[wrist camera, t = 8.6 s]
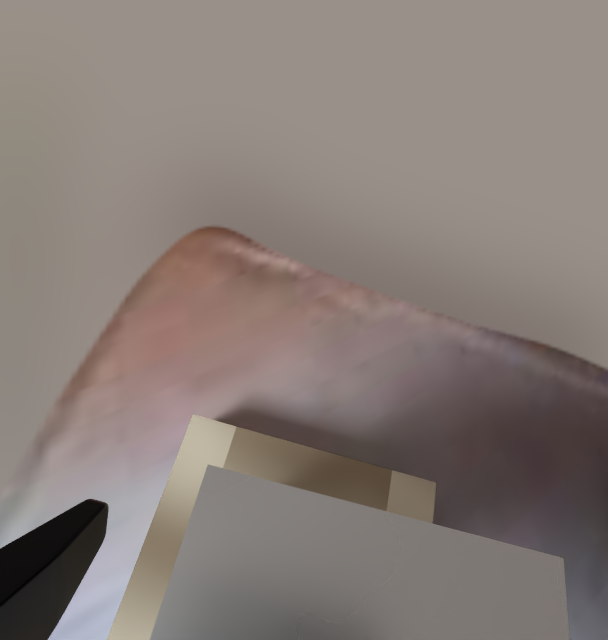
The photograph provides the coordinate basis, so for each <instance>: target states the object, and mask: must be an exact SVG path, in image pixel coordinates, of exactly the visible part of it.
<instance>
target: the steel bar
mask: <svg viewBox="0 0 608 640" xmlns="http://www.w3.org/2000/svg"><path fill="white" fill-rule="evenodd" d="M150 640H570V637H569V623H568V610H567V597H566V584H565V571H564V558H562V557H558V556H554V555H550V554H547V553H543V552H539V551H535V550H531V549H528V548H524V547H520V546H516V545H512V544H509V543H505V542H501V541H497V540H493V539H490V538H486V537H482V536H478V535H474V534H471V533H467V532H463V531H459V530H455V529H452V528H448V527H444V526H440V525H436V524H433V523H429V522H425V521H421V520H417V519H414V518H410V517H406V516H402V515H398V514H395V513H391V512H387V511H383V510H379V509H376V508H372V507H368V506H364V505H360V504H357V503H353V502H349V501H345V500H341V499H338V498H334V497H330V496H326V495H322V494H319V493H315V492H311V491H307V490H303V489H300V488H296V487H292V486H288V485H284V484H281V483H277V482H273V481H269V480H265V479H262V478H258V477H254V476H250V475H246V474H243V473H239V472H235V471H231V470H227V469H224V468H220V467H216V466H212V465H207V468H206V471H205V474H204V477H203V480H202V483H201V486H200V489H199V492H198V495H197V498H196V501H195V504H194V507H193V510H192V513H191V516H190V519H189V522H188V525H187V528H186V531H185V534H184V537H183V540H182V543H181V546H180V549H179V552H178V556H177V559H176V562H175V565H174V568H173V571H172V574H171V577H170V580H169V583H168V586H167V589H166V592H165V595H164V598H163V601H162V604H161V607H160V610H159V613H158V616H157V619H156V622H155V625H154V628H153V631H152V634H151V637H150Z"/></svg>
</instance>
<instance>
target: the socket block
mask: <svg viewBox="0 0 608 640" xmlns="http://www.w3.org/2000/svg"><path fill="white" fill-rule="evenodd" d="M207 465H212V466H216V467H220V468H224V469H227V470H231V471H235V472H239V473H243V474H246V475H250V476H254V477H258V478H262V479H265V480H269V481H273V482H277V483H281V484H284V485H288V486H292V487H296V488H300V489H303V490H307V491H311V492H315V493H319V494H322V495H326V496H330V497H334V498H338V499H341V500H345V501H349V502H353V503H357V504H360V505H364V506H368V507H372V508H376V509H379V510H383V511H387V512H391V513H395V514H398V515H402V516H406V517H410V518H414V519H417V520H421V521H425V522H429V523H433V515H434V504H435V493H436V482H433V481H429V480H426V479H422V478H419V477H415V476H411V475H408V474H404V473H401V472H397V471H394V470H390V469H386V468H383V467H379V466H376V465H372V464H369V463H365V462H361V461H358V460H354V459H351V458H347V457H344V456H340V455H336V454H333V453H329V452H326V451H322V450H319V449H315V448H311V447H308V446H304V445H301V444H297V443H294V442H290V441H286V440H283V439H279V438H276V437H272V436H269V435H265V434H261V433H258V432H254V431H251V430H247V429H244V428H240V427H236V426H233V425H229V424H226V423H222V422H219V421H215V420H211V419H208V418H204V417H201V416H197V415H194V414H193V416H192V419H191V421H190V424H189V426H188V429H187V432H186V434H185V437H184V439H183V442H182V445H181V447H180V450H179V453H178V455H177V458H176V460H175V463H174V466H173V468H172V471H171V473H170V476H169V479H168V481H167V484H166V486H165V489H164V492H163V494H162V497H161V500H160V502H159V505H158V507H157V510H156V513H155V515H154V518H153V520H152V523H151V526H150V528H149V531H148V533H147V536H146V539H145V541H144V544H143V546H142V549H141V552H140V554H139V557H138V560H137V562H136V565H135V567H134V570H133V573H132V575H131V578H130V580H129V583H128V586H127V588H126V591H125V593H124V596H123V599H122V601H121V604H120V607H119V609H118V612H117V614H116V617H115V620H114V622H113V625H112V627H111V630H110V633H109V635H108V638H107V640H150V637H151V634H152V631H153V628H154V625H155V622H156V619H157V616H158V613H159V610H160V607H161V604H162V601H163V598H164V595H165V592H166V589H167V586H168V583H169V580H170V577H171V574H172V571H173V568H174V565H175V562H176V559H177V556H178V552H179V549H180V546H181V543H182V540H183V537H184V534H185V531H186V528H187V525H188V522H189V519H190V516H191V513H192V510H193V507H194V504H195V501H196V498H197V495H198V492H199V489H200V486H201V483H202V480H203V477H204V474H205V471H206V468H207Z"/></svg>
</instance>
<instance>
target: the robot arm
mask: <svg viewBox="0 0 608 640" xmlns="http://www.w3.org/2000/svg"><path fill="white" fill-rule="evenodd" d="M107 518H108V504H107V503H105V502H101V501H98V500H94V499H88V500H85V501H83V502H81V503H80V504H78V505H76V506H74V507H73V508H71V509H69V510H67V511H66V512H64V513H62V514H60V515H59V516H57V517H55V518H53V519H52V520H50V521H48V522H46V523H44V524H43V525H41V526H39V527H37V528H36V529H34V530H32V531H30V532H29V533H27V534H25V535H23V536H22V537H20V538H18V539H16V540H15V541H13V542H11V543H9V544H8V545H6V546H4V547H2V548H1V549H0V640H48V638H49V636H50V635H51V633H52V632H53V630H54V629H55V627H56V626H57V624H58V622H59V620H60V619H61V617H62V615H63V613H64V612H65V610H66V608H67V606H68V604H69V603H70V601H71V599H72V597H73V595H74V594H75V592H76V590H77V588H78V586H79V585H80V583H81V581H82V579H83V577H84V576H85V574H86V572H87V570H88V568H89V566H90V565H91V563H92V561H93V559H94V557H95V556H96V554H97V552H98V550H99V548H100V547H101V545H102V543H103V540H104V538H105V534H106V527H107Z"/></svg>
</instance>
